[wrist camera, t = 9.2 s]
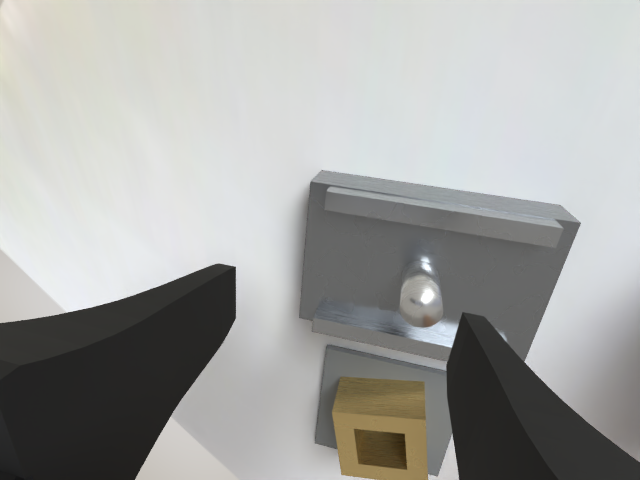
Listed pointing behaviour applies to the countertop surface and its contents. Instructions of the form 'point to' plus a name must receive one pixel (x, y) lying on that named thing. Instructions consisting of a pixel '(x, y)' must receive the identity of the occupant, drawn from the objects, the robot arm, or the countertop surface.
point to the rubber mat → (378, 367)
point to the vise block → (427, 262)
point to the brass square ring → (381, 428)
